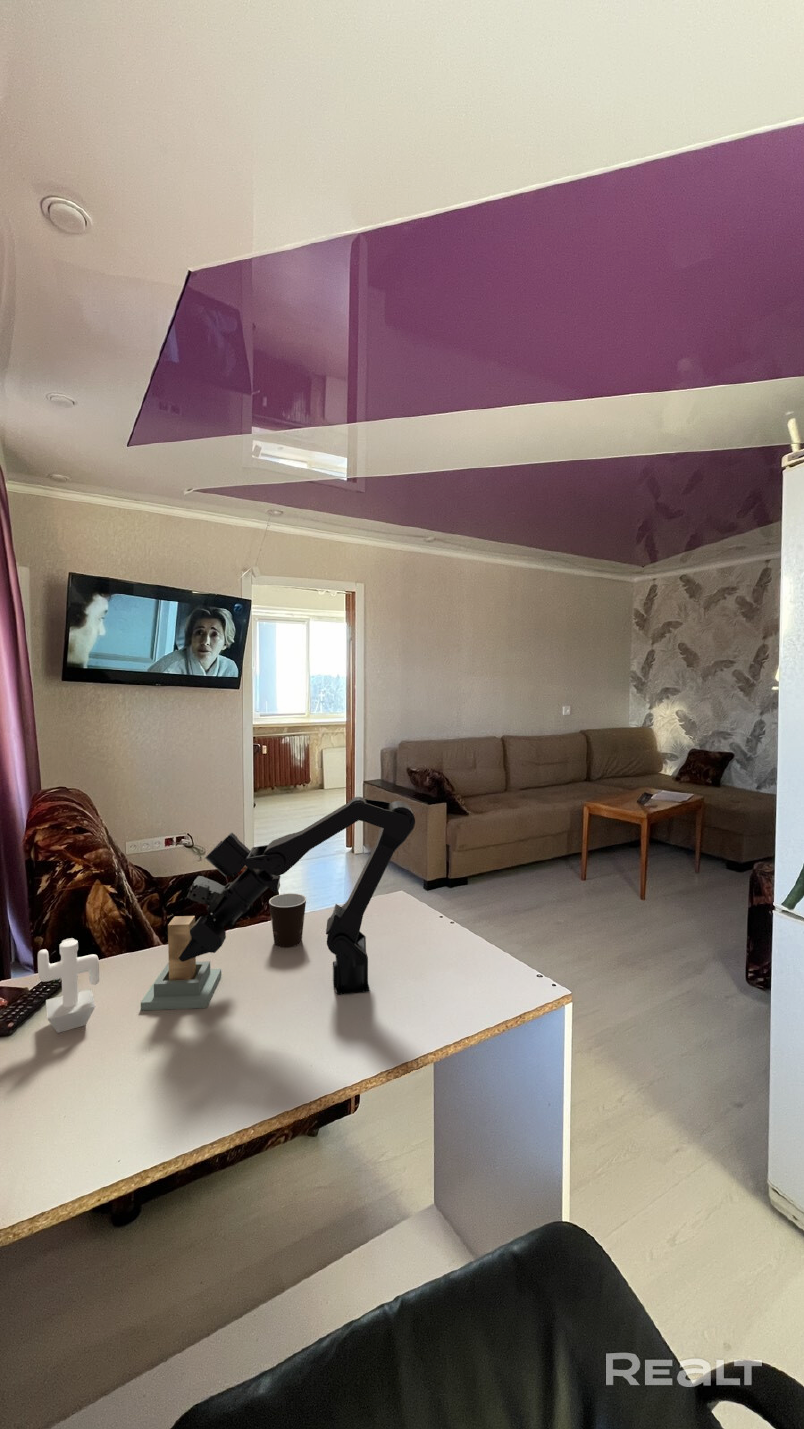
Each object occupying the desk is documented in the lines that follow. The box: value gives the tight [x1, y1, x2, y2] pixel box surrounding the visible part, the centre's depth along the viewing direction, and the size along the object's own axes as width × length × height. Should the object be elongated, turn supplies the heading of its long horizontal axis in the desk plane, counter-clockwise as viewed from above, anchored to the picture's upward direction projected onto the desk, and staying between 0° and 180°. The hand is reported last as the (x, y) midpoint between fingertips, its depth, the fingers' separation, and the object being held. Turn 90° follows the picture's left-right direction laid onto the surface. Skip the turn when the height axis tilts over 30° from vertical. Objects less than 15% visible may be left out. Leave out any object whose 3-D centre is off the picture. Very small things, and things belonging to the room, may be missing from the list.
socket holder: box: [140, 960, 222, 1011], centre depth 113 cm, size 12×12×4 cm
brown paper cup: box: [268, 893, 307, 949], centre depth 137 cm, size 12×9×10 cm
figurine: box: [37, 937, 100, 1034], centre depth 103 cm, size 7×9×15 cm
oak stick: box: [167, 915, 197, 980], centre depth 113 cm, size 4×4×13 cm
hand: (187, 948), depth 113 cm, fingers open, 9 cm apart
